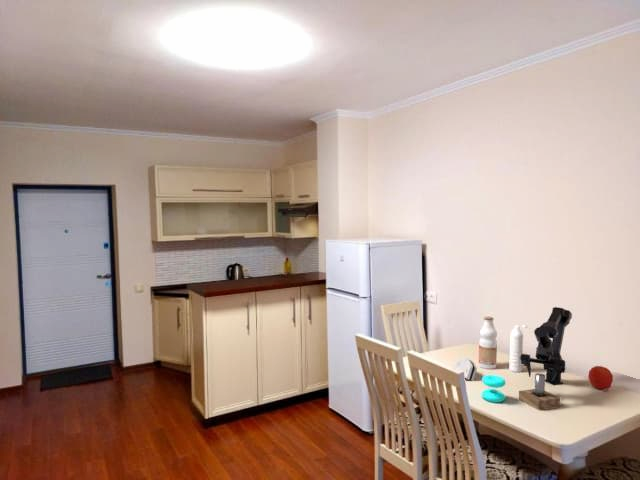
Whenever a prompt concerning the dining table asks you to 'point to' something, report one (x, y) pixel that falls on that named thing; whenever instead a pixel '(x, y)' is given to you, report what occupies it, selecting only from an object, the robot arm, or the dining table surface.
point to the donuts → (493, 394)
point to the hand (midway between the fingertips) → (540, 378)
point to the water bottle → (516, 349)
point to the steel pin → (539, 385)
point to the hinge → (466, 367)
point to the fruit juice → (488, 345)
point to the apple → (600, 377)
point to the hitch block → (539, 399)
